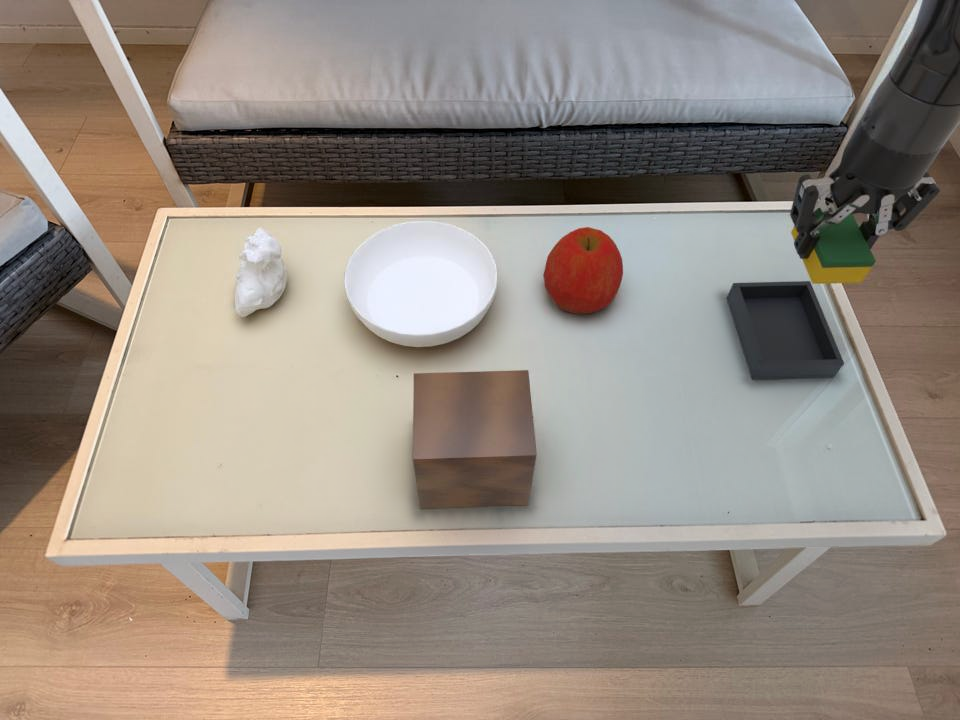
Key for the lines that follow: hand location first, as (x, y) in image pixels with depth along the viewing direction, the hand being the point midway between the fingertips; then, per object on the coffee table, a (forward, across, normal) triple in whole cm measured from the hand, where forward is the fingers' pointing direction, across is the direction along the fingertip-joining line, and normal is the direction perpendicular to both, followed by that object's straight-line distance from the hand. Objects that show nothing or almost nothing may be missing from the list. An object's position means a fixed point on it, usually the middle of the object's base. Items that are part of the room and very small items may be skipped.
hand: (828, 252), depth 78 cm
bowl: (+16, -46, +7) cm, 49 cm away
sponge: (+1, 0, 0) cm, 1 cm away
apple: (+16, -25, +8) cm, 31 cm away
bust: (+16, -68, +10) cm, 70 cm away
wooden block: (+16, -41, -17) cm, 47 cm away
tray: (+16, 0, 0) cm, 16 cm away
